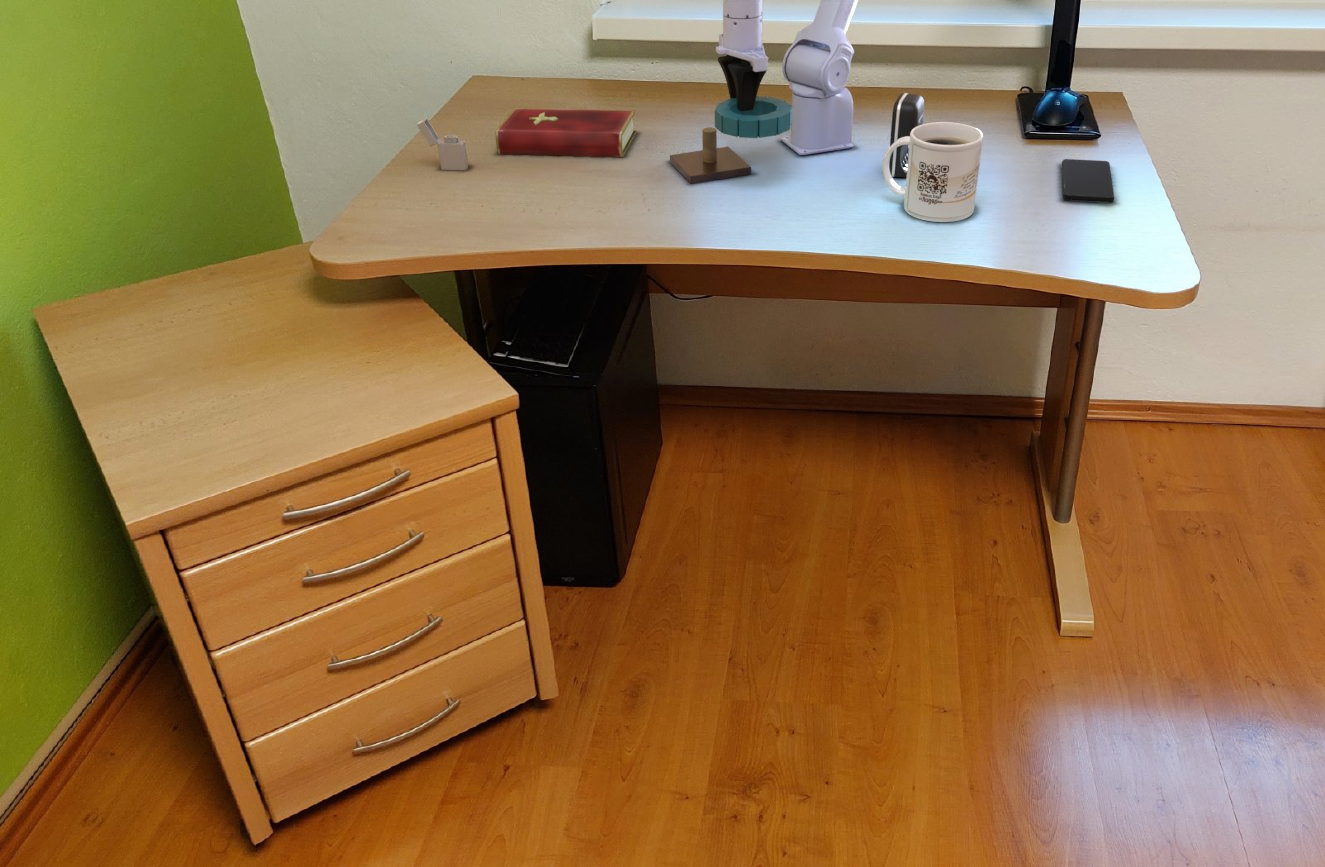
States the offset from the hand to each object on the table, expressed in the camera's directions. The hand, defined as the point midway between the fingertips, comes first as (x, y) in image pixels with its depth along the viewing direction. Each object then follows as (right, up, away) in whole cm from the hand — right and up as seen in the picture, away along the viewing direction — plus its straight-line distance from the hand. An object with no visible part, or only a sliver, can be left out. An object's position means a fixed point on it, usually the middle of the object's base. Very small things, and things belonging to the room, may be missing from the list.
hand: (742, 107), depth 172 cm
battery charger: (+25, -9, +3) cm, 27 cm away
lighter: (-47, -7, +11) cm, 49 cm away
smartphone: (+51, -13, -4) cm, 52 cm away
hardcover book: (-28, -1, +18) cm, 33 cm away
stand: (-5, -8, +7) cm, 11 cm away
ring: (+1, -3, -3) cm, 5 cm away
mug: (+27, -17, -9) cm, 33 cm away
